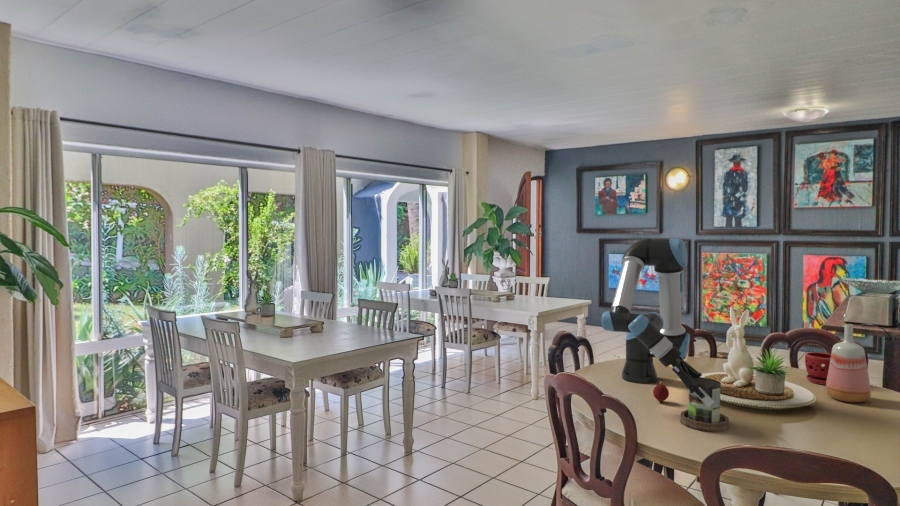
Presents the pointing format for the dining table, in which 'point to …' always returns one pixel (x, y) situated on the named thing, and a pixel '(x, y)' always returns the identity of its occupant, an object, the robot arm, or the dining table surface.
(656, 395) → the onion
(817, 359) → the plant pot
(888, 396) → the dining table surface
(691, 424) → the tray
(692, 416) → the coffee can
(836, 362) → the vase
